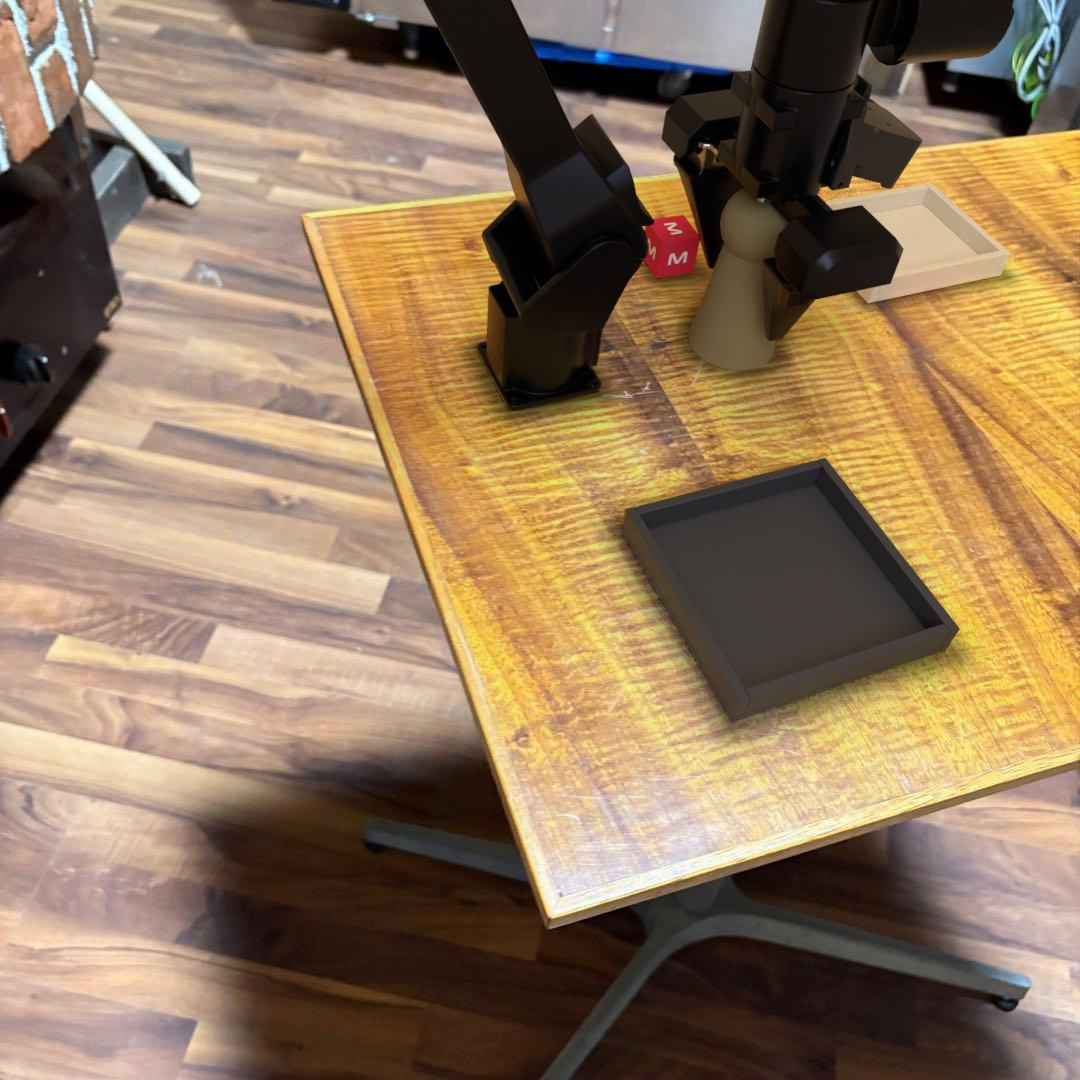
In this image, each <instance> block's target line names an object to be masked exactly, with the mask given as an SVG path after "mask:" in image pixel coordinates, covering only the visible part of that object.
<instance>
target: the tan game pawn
mask: <svg viewBox="0 0 1080 1080" xmlns="http://www.w3.org/2000/svg"><path fill="white" fill-rule="evenodd" d="M788 224H789V223H788V222H787V221H786V220H785V218H784V217H783V216H782V215H781V214H780V213H779V212H778V211H777V210H776V209H775V208H774V207H773V206H772V205H771V204H770V203H761V202H759V201H758V200H757V199H755V198H754V196H753V195H752V194H751V193H750V192H749V191H748V190H747V189H746V188H744V189H741V190H739V191H738V192H737V193H735V194H734V195H733V196H732V197H731V198H730V199H729V200H728V202H727V204H726V206H725V208H724V210H723V212H722V216H721V220H720V226H721V237H722V239H723V241H724V244H723V247H722V249H721V252H720V254H719V257H718V259H717V262H716V264H715V267H714V269H712V271H711V274H710V277H709V280H708V282H707V285H706V287H705V290H704V292H703V295H702V297H701V299H700V302H699V304H698V308H697V310H696V312H695V315H694V317H693V320H692V323H691V325H690V327H689V330H688V332H687V341H688V344H689V346H690V348H691V350H692V351H693V352H694V353H695V354H696V355H697V356H698V357H699V358H701V360H703V361H705V362H706V363H709V364H711V365H712V366H714V367H718V368H720V369H725V370H727V371H728V370H730V371H740V372H741V371H742V372H743V371H750V370H755V369H758V368H760V367H762V366H764V365H767V363H768V362H769V361H770V360H772V359H773V355H774V353H775V349H776V344H777V340H774V341H769V340H768V339H767V338H766V333H765V325H764V297H763V266H762V262H763V259H766V258H771V257H775V254H774V247H775V244H776V240H777V236H778V234H779V233H780V232H781V231H782V230H783V229H784V228H785V227H786V226H787V225H788Z"/></svg>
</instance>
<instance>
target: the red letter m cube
mask: <svg viewBox="0 0 1080 1080" xmlns="http://www.w3.org/2000/svg"><path fill="white" fill-rule="evenodd" d="M653 220H654V224H653V225H651V226H644V231H645V232H646V235H647V240H648V244H649V248H648V255H647V257H646V258H645V259H643V261H644V263H646V265H647V267H648V268H649V270H650V271H651V273H652V274H653V276H654V277H655V278H656V279H659V278H667V277H673V276H679V275H686V274H692V273H694V270H695V265H696V261H697V257H698V251H699V247H700V244H701V242H700V239H699V235H698V232H697V230H696V229H695V228H694V226H693V225H692V224H691V223H690V221H689V220H688V219H687V217H686V216H685V215H684V214H679V215H672V216H665V217H657V218H653Z"/></svg>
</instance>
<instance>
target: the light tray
mask: <svg viewBox="0 0 1080 1080" xmlns="http://www.w3.org/2000/svg"><path fill="white" fill-rule="evenodd" d="M823 201H824V202H825V203H826V204H827V205H828V206H829V207H830V208H831V209H832V210H838V209H843V208H848V207H854V206H859V205H862V206H863V207H864V208H866V209H867V210H868V211H869V212H870V213H871V214H872V215H873V216H874V217H875V218H876V219H877V220H878V221H879V222H880V223H881V224H882V225H883V226H884V227H885V228H886V229H887V230H888V231H889V232H890V233H891V234H892V235H894V236H895V237H896V239H897V240H898V242H899V243H900V244H901V246H902V247H903V249H904V250H903V252H902V255H901V258H900V261H899V263H898V266H897V268H896V271H895V274H894V276H893V279H892V281H891V284H888V285H883V286H878V287H873V288H869V289H864V290H859V291H855V292H856V293H857V294H858V296H860V297H861V298H862V299H863V300H864V301H865V303H867V304H872V303H876V302H881V301H886V300H891V299H896V298H900V297H905V296H909V295H915V294H920V293H924V292H928V291H929V292H930V291H933V290H938V289H944V288H948V287H952V286H953V287H954V286H957V285H961V284H968V283H971V282H976V281H981V280H985V279H991V278H996V277H1000V276H1002V274H1003V271H1004V269H1005V267H1006V266H1007V263H1008V261H1009V259H1010V257H1011V255H1012V253H1011V252H1010V251H1009V250H1008V249H1007V248H1006V247H1005V246H1004V245H1002V244H1001V243H1000V242H999V241H998V240H997V239H995V238H994V237H993V236H992V235H991V234H990V233H989V232H987V231H986V230H985V229H984V228H983V227H982V226H981V225H980V224H979V223H977V222H976V221H975V220H974V218H973V219H972V217H970V215H968V214H967V213H966V212H965V211H964V210H962V209H961V208H960V207H959V206H958V205H957V204H955V203H954V202H953V201H952V199H950V198H949V197H948V196H947V195H946V194H944V193H943V192H942V191H941V190H940V189H938V187H937V186H935V185H934V184H933V183H932V182H928V183H922V184H916V185H909V186H906V187H905V186H904V187H898V188H891V189H888V190H880V191H876V192H870V193H863V194H858V195H853V196H846V197H840V198H836V199H835V198H834V199H830V200H823Z"/></svg>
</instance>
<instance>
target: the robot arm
mask: <svg viewBox="0 0 1080 1080" xmlns="http://www.w3.org/2000/svg"><path fill="white" fill-rule="evenodd" d="M422 1H423V3H424V4H425V7H426V8H427V10H428V12H429V14H430V15H431V17H432V19H433V21H434V23H435V25H436V26H437V29H438V30H439V32H440V34H441V36H442V38H443V39H444V41H445V43H446V45H447V47H448V48H449V50H450V52H451V54H452V56H453V58H454V59H455V61H456V63H457V65H458V66H459V68H460V71H461V72H462V74H463V75H464V77H465V80H466V81H467V83H468V85H469V87H470V88H471V90H472V92H473V94H474V96H475V98H476V99H477V102H478V103H479V105H480V107H481V108H482V110H483V112H484V114H485V116H486V118H487V119H488V121H489V123H490V125H491V126H492V128H493V131H494V132H495V134H496V136H497V137H498V140H499V142H500V143H501V147H502V151H503V155H504V160H505V164H506V169H507V170H506V171H507V174H508V175H507V176H508V179H509V182H510V185H511V188H512V191H513V195H514V198H515V199H514V200H513V201H512V202H511V203H510V204H509V205H508V206H507V207H506V208H505V209H504V210H503V211H502V212H501V213H500V214H499V215H498V216H496V218H495V219H494V220H493V221H492V222H490V224H488V225H487V227H485V229H484V230H482V232H481V238H482V241H483V244H484V246H485V249H486V252H487V254H488V257H489V259H490V261H491V262H492V263H493V264H494V266H495V268H496V270H497V272H498V275H499V277H500V279H501V281H500V282H499V283H496V284H490V285H489V286H488V290H487V293H488V294H487V321H486V341H481V342H479V343H478V344H477V345H476V353H477V355H478V358H479V359H480V361H481V363H482V365H483V367H484V369H485V370H486V372H487V374H488V376H489V378H490V380H491V382H492V384H493V385H494V387H495V389H496V391H497V392H498V394H499V396H500V398H501V400H502V402H503V404H504V406H505V407H506V408H507V409H508V410H509V411H511V412H512V411H513V412H516V411H517V412H518V411H521V410H526V409H530V408H535V407H539V406H543V405H544V406H545V405H548V404H552V403H557V402H562V401H567V400H573V399H576V398H580V397H584V396H590V395H593V394H598V393H600V392H601V389H602V381H601V380H600V378H599V377H598V375H597V373H596V372H595V370H594V369H593V367H596V366H598V364H599V361H600V353H601V346H602V339H603V332H604V328H605V326H606V324H607V323H608V320H609V319H610V317H611V315H612V313H613V311H614V310H615V308H616V306H617V305H618V302H619V300H620V298H621V296H622V295H623V293H624V291H625V289H626V288H627V286H628V284H629V282H630V280H631V279H632V278H633V277H634V276H635V274H636V273H637V272H638V270H640V267H641V265H642V263H643V261H644V259H645V258H646V257H647V255H648V248H649V244H648V240H647V235H646V232H645V228H644V227H645V226H651V225H653V224H654V220H653V219H654V218H653V216H652V215H651V214H650V212H649V211H648V209H647V208H646V206H645V205H644V203H643V201H642V200H641V199H640V198H639V196H638V194H637V190H636V186H635V185H636V184H635V181H634V178H633V174H632V171H631V169H630V168H631V167H630V166H629V164H628V163H627V162H626V160H625V159H624V157H623V156H622V154H621V153H620V151H619V150H618V149H617V147H616V145H615V144H614V143H613V141H612V139H611V138H610V137H609V136H608V134H607V132H606V131H605V130H604V127H602V125H601V124H600V122H599V120H598V119H597V117H596V116H595V114H593V113H590V114H589V115H588V116H587V117H585V118H584V119H583V120H582V121H581V122H579V123H578V124H577V125H576V126H574V127H573V126H572V124H571V123H570V121H569V119H568V117H567V115H566V112H565V110H564V108H563V106H562V104H561V101H560V100H559V97H558V96H557V93H556V92H555V89H554V87H553V84H552V83H551V81H550V78H549V76H548V74H547V72H546V70H545V67H544V66H543V64H542V61H541V60H540V57H539V55H538V53H537V51H536V49H535V46H534V44H533V43H532V41H531V38H530V36H529V34H528V32H527V29H526V28H525V26H524V24H523V21H522V19H521V17H520V15H519V13H518V11H517V8H516V6H515V4H514V2H513V0H422ZM1014 1H1015V0H765V2H764V7H763V10H762V16H761V19H760V20H761V21H760V24H759V29H758V34H757V39H756V43H755V47H754V52H753V57H752V61H751V66H750V69H749V70H743V71H737V72H734V73H733V76H732V80H731V81H732V82H731V85H730V89H722V90H715V91H709V92H708V91H707V92H700V93H693V94H687V95H680V96H679V97H678V98H677V99H676V100H675V102H673V104H671V106H670V107H668V108H667V110H666V111H665V114H664V120H663V125H662V126H663V127H662V132H661V137H660V139H661V140H662V141H663V142H664V144H665V145H666V146H667V147H668V148H669V149H670V150H671V151H672V153H673V154H674V155H673V158H672V161H673V165H674V166H675V168H676V169H677V172H678V174H679V177H680V180H681V183H682V187H683V190H684V192H685V196H686V199H687V202H688V205H689V209H690V211H691V215H692V218H693V222H694V224H695V225H694V226H695V228H696V232H697V233H698V235H699V239H700V246H701V249H702V253H703V256H704V260H705V264H706V266H707V267H708V269H710V270H713V269H714V267H715V264H716V262H717V259H718V257H719V254H720V252H721V249H722V247H723V244H724V241H723V239H722V237H721V226H720V220H721V216H722V212H723V210H724V208H725V206H726V204H727V202H728V200H729V199H730V198H731V197H732V196H733V195H734V194H735V193H737V192H738V191H739V190H741V189H744V188H746V189H747V190H748V191H749V192H750V193H751V194H752V195H753V196H754V198H755V199H757V200H758V201H759V202H761V203H770V204H771V205H772V206H773V207H774V208H775V209H776V210H777V211H778V212H779V213H780V214H781V215H782V216H783V217H784V218H785V220H786V221H787V222H788V223H789V224H788V225H787V226H786V227H785V228H784V229H783V230H782V231H781V232H780V233H779V234H778V236H777V240H776V244H775V247H774V254H775V257H771V258H766V259H763V262H762V266H763V297H764V325H765V333H766V338H767V339H768V340H769V341H774V340H776V341H778V340H781V339H784V338H785V336H786V335H787V334H788V333H789V332H790V330H792V328H793V327H794V325H795V324H796V323H797V322H798V321H799V320H800V318H801V317H803V315H804V314H805V313H806V312H807V310H808V309H809V308H810V307H811V305H812V304H813V303H814V302H815V301H816V300H820V299H826V298H831V297H836V296H840V295H844V294H849V293H854V292H856V291H859V290H864V289H869V288H873V287H878V286H883V285H888V284H891V281H892V279H893V276H894V274H895V271H896V268H897V266H898V263H899V261H900V258H901V255H902V252H903V250H904V249H903V247H902V246H901V244H900V243H899V242H898V240H897V239H896V237H895V236H894V235H892V234H891V233H890V232H889V231H888V230H887V229H886V228H885V227H884V226H883V225H882V224H881V223H880V222H879V221H878V220H877V219H876V218H875V217H874V216H873V215H872V214H871V213H870V212H869V211H868V210H867V209H866V208H864V207H863V206H862V205H859V206H854V207H848V208H843V209H838V210H832V209H831V208H830V207H829V206H828V205H827V204H826V203H825V202H824V201H825V200H824V199H823V198H822V197H821V196H820V195H818V194H820V192H821V189H822V188H829V190H830V191H832V192H834V191H838V190H844V189H849V188H850V186H851V182H852V179H853V177H855V178H858V179H862V180H865V181H870V182H873V183H878V184H880V186H881V187H882V188H884V189H888V190H892V189H894V186H895V185H896V184H897V183H898V181H899V179H900V177H901V176H902V174H903V173H904V171H905V170H906V168H907V166H908V165H909V163H910V162H911V160H912V158H913V157H914V156H915V154H916V153H917V151H918V150H919V148H920V146H921V145H922V143H923V139H922V137H920V136H919V135H918V134H917V133H916V132H915V131H914V130H913V129H911V128H910V127H909V126H908V125H907V124H905V123H904V122H903V121H901V119H899V118H898V116H896V115H894V114H893V113H892V112H891V111H889V110H888V109H887V108H886V107H883V106H881V105H880V104H879V103H878V102H877V101H875V100H874V99H872V98H871V94H872V88H873V84H872V83H871V82H870V81H869V80H868V79H866V78H865V77H864V76H863V75H861V74H860V73H859V69H860V66H861V63H862V60H863V57H864V53H865V50H866V47H867V46H868V47H869V50H870V52H871V53H872V55H873V57H874V59H876V60H877V61H878V62H879V63H881V64H883V65H885V66H901V65H903V66H904V65H912V64H913V65H914V64H923V63H932V62H933V63H935V62H942V61H952V60H953V61H954V60H964V59H974V58H981V57H984V56H987V55H988V54H990V53H991V52H992V51H993V50H995V49H996V48H997V47H998V46H999V44H1000V43H1001V42H1002V41H1003V39H1004V38H1005V36H1006V34H1007V32H1008V31H1009V29H1010V26H1011V25H1012V21H1013V19H1014V16H1015V8H1014Z"/></svg>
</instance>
